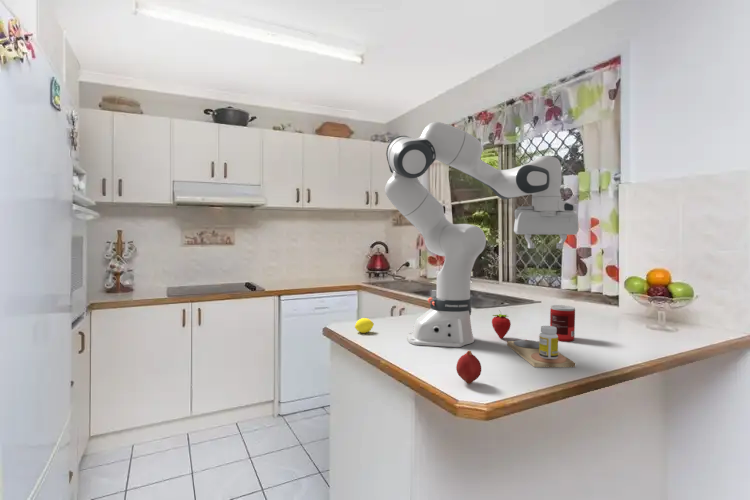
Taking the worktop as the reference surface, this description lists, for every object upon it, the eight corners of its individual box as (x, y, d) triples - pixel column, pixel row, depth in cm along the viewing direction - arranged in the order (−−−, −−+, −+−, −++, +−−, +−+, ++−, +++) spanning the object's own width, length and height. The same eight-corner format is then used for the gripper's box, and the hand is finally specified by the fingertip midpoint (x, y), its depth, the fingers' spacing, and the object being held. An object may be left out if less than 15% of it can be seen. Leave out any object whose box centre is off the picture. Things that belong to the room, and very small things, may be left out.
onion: (453, 379, 98) (453, 347, 98) (476, 378, 99) (476, 346, 99) (460, 388, 93) (460, 354, 92) (484, 387, 93) (485, 353, 93)
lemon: (356, 336, 143) (354, 321, 142) (355, 332, 148) (353, 318, 148) (375, 332, 144) (373, 318, 143) (373, 329, 149) (371, 315, 149)
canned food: (569, 336, 141) (569, 305, 141) (578, 342, 133) (579, 309, 133) (546, 335, 142) (547, 304, 142) (554, 341, 134) (555, 308, 134)
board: (535, 367, 107) (535, 362, 107) (506, 344, 130) (506, 339, 130) (576, 367, 107) (576, 362, 107) (540, 344, 130) (540, 340, 130)
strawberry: (497, 341, 134) (497, 311, 133) (488, 336, 141) (488, 307, 141) (514, 341, 134) (514, 311, 134) (504, 335, 142) (504, 307, 142)
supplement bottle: (556, 355, 113) (557, 326, 113) (558, 360, 109) (559, 329, 108) (538, 353, 115) (539, 324, 114) (539, 358, 110) (540, 328, 110)
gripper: (518, 205, 129) (517, 248, 130) (581, 205, 129) (580, 248, 130) (511, 206, 135) (510, 247, 136) (571, 207, 135) (571, 248, 136)
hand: (545, 248), depth 133 cm, fingers open, 8 cm apart
